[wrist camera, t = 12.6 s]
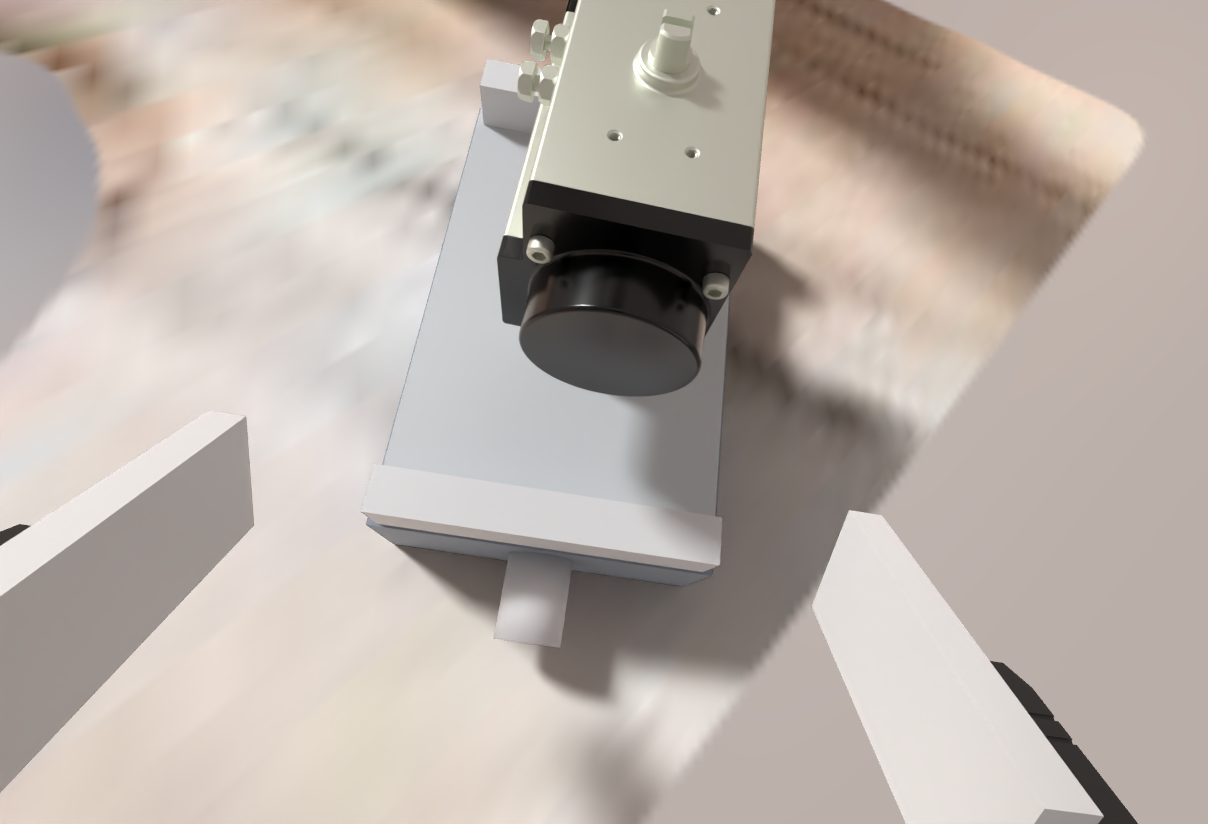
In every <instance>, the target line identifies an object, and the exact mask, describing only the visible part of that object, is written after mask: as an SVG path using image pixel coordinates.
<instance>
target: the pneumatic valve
mask: <svg viewBox="0 0 1208 824" xmlns="http://www.w3.org/2000/svg"><path fill="white" fill-rule="evenodd" d="M775 2H776V0H569V2H568V6H567V9H566V13H565V16H564V20H563V24H557V25H555V26H554V29H553V34H552V35H551V34H549V31H550V29H549V23H548V21H546V20H542V19H538V20H536V21H534V23H533V27H532V32H531V40H530V56H531V57H532V58H533V59H535V60H538V61H543V62H544V60H545V56H546V53H547V50H548V51H550V61H551V62H552V63H551V65H546V66H543V68H542V71H541V75H538V67H537V63H536V62H534V61H529V60H525V61H523V62H522V63H521V66H520V70H519V75H518V85H517V94H518V97H519V98H520V99H521V100H523V101H527V102H531V103H532V102H533V98H534V95H535V91H536V92H538V101H539V102H540V106H539V109H538V113H537V116H536V120H535V124H534V127H533V131H532V134H531V138H530V141H529V145H528V149H527V152H526V156H525V159H524V163H523V166H522V170H521V174H520V177H519V181H518V184H517V188H516V191H515V195H514V198H513V202H512V206H511V209H510V213H509V216H508V220H507V223H506V227H505V231H504V234H503V238H502V241H501V245H500V248H499V252H498V256H497V266H498V277H499V287H500V298H501V309H502V320H503V322H504V323H506V324H511V325H516V326H521V327H520V331H519V343H520V346H521V349H522V351H523V352H524V354H525V355H526V357H527V358H528V359H529V360H530V361H531V362H532V363H533V364H534V365H535V366H537V367H538V368H539V369H541V370H542V371H544V372H545V373H547V374H548V375H550V376H552V377H554V378H556V379H558V380H560V381H562V382H565V383H567V384H570V385H572V386H575V387H578V388H581V389H585V390H589V391H593V392H597V393H602V394H608V395H615V396H628V397H644V396H655V395H662V394H666V393H670V392H673V391H676V390H679V389H681V388H683V387H685V386H687V385H688V384H689V383H691V382H692V381H693V380H694V379H695V378H696V377H697V375H698V374H699V372H700V369H701V364H702V355H703V346H704V338H705V336H706V334H707V332H708V331H709V329H710V327H711V325H712V324H713V322H714V320H715V318H716V316H717V315H718V313H719V311H720V309H721V308H722V306H723V304H724V302H725V301H726V299H727V297H728V295H729V294H730V292H731V290H732V288H733V287H734V285H735V283H736V281H737V280H738V278H739V276H740V274H741V272H742V271H743V269H744V267H745V265H746V264H747V262H748V260H749V258H750V257H751V255H752V247H753V236H754V225H755V215H756V204H757V193H758V183H759V172H760V161H761V151H762V140H763V129H764V119H765V108H766V97H767V87H768V76H769V65H770V55H771V44H772V34H773V23H774V12H775Z"/></svg>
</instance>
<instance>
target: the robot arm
mask: <svg viewBox="0 0 1208 824" xmlns="http://www.w3.org/2000/svg"><path fill="white" fill-rule="evenodd" d="M253 526H254V518H253V504H252V490H251V476H250V462H249V448H248V434H247V420H246V416H242V415H235V414H229V413H223V412H216V411H210V410H209V411H207V412H206V413H204V414H203V415H201V416H199V417H198V418H196V419H195V420H193V421H192V422H190V423H189V424H187V425H186V426H184V427H183V428H181V429H179V430H178V431H176V432H175V433H173V434H172V435H170V436H169V437H167V438H166V439H164V440H163V441H161V442H159V443H158V444H156V445H155V446H153V447H152V448H150V449H149V450H147V451H146V452H144V453H143V454H141V455H139V456H138V457H136V458H135V459H133V460H132V461H130V462H129V463H127V464H126V465H124V466H123V467H121V468H119V469H118V470H116V471H115V472H113V473H112V474H110V475H109V476H107V477H106V478H104V479H103V480H101V481H99V482H98V483H96V484H95V485H93V486H92V487H90V488H89V489H87V490H86V491H84V492H83V493H81V494H79V495H78V496H76V497H75V498H73V499H72V500H70V501H69V502H67V503H66V504H64V505H63V506H61V507H59V508H58V509H56V510H55V511H53V512H52V513H50V514H49V515H47V516H46V517H44V518H43V519H41V520H39V521H38V522H36V523H35V524H33V525H32V526H28V525H21V524H19V525H16V526H14V527H11V528H9V529H6V530H4V531H1V532H0V792H1V791H2V790H3V789H4V788H5V787H6V786H7V785H8V784H9V783H10V782H11V781H12V780H13V779H14V778H15V776H16V775H17V774H18V773H19V772H20V771H21V770H22V769H23V768H24V767H25V766H26V765H27V764H28V763H29V762H30V761H31V760H32V759H33V758H34V756H35V755H36V754H37V753H38V752H39V751H40V750H41V749H42V748H43V747H44V746H45V745H46V744H47V743H48V742H49V741H50V740H51V739H52V738H53V736H54V735H55V734H56V733H57V732H58V731H59V730H60V729H61V728H62V727H63V726H64V725H65V724H66V723H67V722H68V721H69V720H70V719H71V717H72V716H73V715H74V714H75V713H76V712H77V711H78V710H79V709H80V708H81V707H82V706H83V705H84V704H85V703H86V702H87V701H88V700H89V699H90V697H91V696H92V695H93V694H94V693H95V692H96V691H97V690H98V689H99V688H100V687H101V686H102V685H103V684H104V683H105V682H106V681H107V680H108V679H109V677H110V676H111V675H112V674H113V673H114V672H115V671H116V670H117V669H118V668H119V667H120V666H121V665H122V664H123V663H124V662H125V661H126V660H127V659H128V657H129V656H130V655H131V654H132V653H133V652H134V651H135V650H136V649H137V648H138V647H139V646H140V645H141V644H142V643H143V642H144V641H145V640H146V639H147V637H148V636H149V635H150V634H151V633H152V632H153V631H154V630H155V629H156V628H157V627H158V626H159V625H160V624H161V623H162V622H163V621H164V620H165V619H166V617H167V616H168V615H169V614H170V613H171V612H172V611H173V610H174V609H175V608H176V607H177V606H178V605H179V604H180V603H181V602H182V601H183V600H184V599H185V597H186V596H187V595H188V594H189V593H190V592H191V591H192V590H193V589H194V588H195V587H196V586H197V585H198V584H199V583H200V582H201V581H202V580H203V578H204V577H205V576H206V575H207V574H208V573H209V572H210V571H211V570H212V569H213V568H214V567H215V566H216V565H217V564H218V563H219V562H220V561H221V560H222V558H223V557H224V556H225V555H226V554H227V553H228V552H229V551H230V550H231V549H232V548H233V547H234V546H235V545H236V544H237V543H238V542H239V541H240V540H241V538H242V537H243V536H244V535H245V534H246V533H247V532H248V531H249V530H250V529H251V528H252V527H253ZM811 607H812V609H813V611H814V613H815V616H816V618H817V621H818V623H819V625H820V628H821V630H822V632H823V634H824V637H825V639H826V641H827V644H828V646H829V648H830V651H831V653H832V655H833V657H834V660H835V662H836V664H837V666H838V669H839V671H840V673H841V676H842V678H843V680H844V683H845V685H846V687H847V690H848V692H849V694H850V696H851V699H852V701H853V703H854V706H855V708H856V710H857V712H858V715H859V717H860V719H861V722H862V724H863V726H864V729H865V731H866V733H867V735H868V738H869V740H870V742H871V745H872V747H873V749H874V752H875V754H876V756H877V759H878V761H879V763H880V765H881V768H882V770H883V772H884V775H885V777H886V779H887V781H888V784H889V786H890V788H891V790H892V793H893V795H894V797H895V800H896V802H897V804H898V807H899V809H900V811H901V814H902V816H903V818H904V820H905V823H906V824H1138V823H1137V822H1136V820H1135V819H1134V818H1133V817H1132V815H1131V814H1130V813H1129V812H1128V810H1127V809H1126V808H1125V806H1124V805H1123V804H1122V803H1121V801H1120V800H1119V799H1118V798H1117V796H1116V795H1115V794H1114V792H1113V791H1112V790H1111V788H1110V787H1109V786H1108V785H1107V783H1106V782H1105V781H1104V780H1103V778H1102V777H1101V776H1100V774H1099V773H1098V772H1097V770H1096V769H1095V768H1094V767H1093V765H1092V764H1091V763H1090V761H1089V760H1088V759H1087V758H1086V756H1085V755H1084V754H1083V753H1082V751H1081V750H1080V749H1079V747H1078V746H1077V745H1073V744H1072V739H1071V737H1070V736H1069V735H1068V733H1067V732H1066V731H1065V729H1064V728H1063V727H1062V726H1061V724H1060V723H1059V722H1058V721H1054V715H1053V714H1052V713H1051V711H1050V710H1049V709H1048V708H1047V706H1046V705H1045V704H1044V703H1043V701H1042V700H1041V699H1040V697H1039V696H1038V695H1037V693H1036V692H1035V691H1034V690H1033V688H1032V687H1030V686H1029V685H1028V684H1027V683H1026V682H1025V681H1023V680H1022V679H1021V678H1020V677H1019V676H1018V675H1016V674H1015V673H1014V672H1013V671H1012V670H1010V669H1009V668H1008V667H1007V666H1006V665H1005V664H1004V663H999V662H993V661H989V660H988V658H987V657H986V655H985V654H984V653H983V651H982V650H981V649H980V647H979V646H978V645H977V643H976V642H975V641H974V639H973V638H972V636H971V635H970V634H969V632H968V631H967V630H966V628H965V627H964V626H963V624H962V623H961V622H960V620H959V619H958V617H957V616H956V615H955V613H954V612H953V611H952V609H951V608H950V607H949V605H948V604H947V603H946V601H945V600H944V598H943V597H942V596H941V595H940V593H939V592H938V590H937V589H936V588H935V586H934V585H933V584H932V582H931V581H930V579H929V578H928V577H927V575H926V574H925V573H924V571H923V570H922V569H921V567H920V566H919V565H918V563H917V562H916V560H915V559H914V558H913V556H912V555H911V554H910V552H909V551H908V550H907V548H906V547H905V546H904V544H903V543H902V541H901V540H900V539H899V537H898V536H897V535H896V533H895V532H894V531H893V529H892V528H891V527H890V525H889V524H888V522H887V521H886V520H885V518H884V517H883V516H882V515H877V514H871V513H865V512H858V511H852V510H849V511H848V514H847V517H846V519H845V522H844V524H843V527H842V529H841V532H840V534H839V537H838V540H837V542H836V545H835V547H834V550H833V552H832V555H831V558H830V560H829V563H828V565H827V568H826V570H825V573H824V575H823V578H822V581H821V583H820V586H819V588H818V591H817V593H816V596H815V599H814V601H813V604H812V606H811Z"/></svg>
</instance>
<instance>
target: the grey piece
mask: <svg viewBox="0 0 1208 824" xmlns="http://www.w3.org/2000/svg"><path fill="white" fill-rule="evenodd" d="M520 66H521V65H517V64H512V63H506V62H501V61H496V60H491V59H487V62H486V65H485V69H484V72H483V76H482V80H481V83H480V92H481V102H482V106H481V108H480V111H479V114H478V118H477V122H476V125H475V129H474V132H473V136H472V140H471V143H470V147H469V151H468V154H467V158H466V162H465V165H464V169H463V173H462V176H461V180H460V183H459V187H458V191H457V194H456V198H455V202H454V205H453V209H452V213H451V216H450V220H449V224H448V227H447V231H446V234H445V238H444V242H443V245H442V249H441V253H440V256H439V260H438V264H437V267H436V271H435V274H434V278H433V282H432V285H431V289H430V293H429V296H428V300H427V304H426V307H425V311H424V315H423V318H422V322H421V325H420V329H419V333H418V336H417V340H416V344H415V347H414V351H413V355H412V358H411V362H410V366H409V369H408V373H407V376H406V380H405V384H404V387H403V391H402V395H401V398H400V402H399V406H398V409H397V413H396V416H395V420H394V424H393V427H392V431H391V435H390V438H389V442H388V446H387V449H386V453H385V457H384V460H383V464H382V465H380V464H374V465H373V469H372V472H371V476H370V479H369V483H368V487H367V490H366V494H365V497H364V501H363V504H362V508H361V512H362V513H363V514H365V515H366V516H367V517H368V518H367V522H366V525H367V526H369V527H370V528H371V529H373V530H374V531H376V532H377V533H379V534H380V535H381V536H383V537H384V538H386V539H387V540H389V541H390V542H391V543H393V544H397V545H404V546H411V547H418V548H425V549H431V550H438V551H445V552H452V553H459V554H465V555H472V556H479V557H486V558H493V559H499V560H506V561H508V563H507V568H506V573H505V579H504V584H503V590H502V595H501V600H500V606H499V611H498V617H497V622H496V628H495V633H494V638H493V639H500V640H507V641H514V642H521V643H528V644H535V645H542V646H550V647H557V648H560V647H561V640H562V633H563V626H564V620H565V613H566V606H567V599H568V592H569V585H570V579H571V572H572V570H574V571H581V572H588V573H594V574H601V575H608V576H615V577H622V578H628V579H635V580H642V581H649V582H656V583H662V584H669V585H676V586H686V585H689V584H692V583H694V582H697V581H700V580H703V579H706V578H708V577H711V576H712V573H713V568H714V567H717V566H719V565H720V554H721V537H722V520H723V517H717V516H716V510H717V494H718V478H719V462H720V446H721V431H722V415H723V399H724V383H725V367H726V351H727V335H728V319H729V304H730V294H729V295H728V297H727V299H726V301H725V302H724V304H723V306H722V308H721V309H720V311H719V313H718V315H717V316H716V318H715V320H714V322H713V324H712V325H711V327H710V329H709V331H708V332H707V334H706V336H705V338H704V346H703V355H702V364H701V369H700V372H699V374H698V375H697V377H696V378H695V379H694V380H693V381H692V382H691V383H689V384H688V385H687V386H685V387H683V388H681V389H679V390H676V391H673V392H670V393H666V394H662V395H655V396H644V397H628V396H615V395H608V394H602V393H597V392H593V391H589V390H585V389H581V388H578V387H575V386H572V385H570V384H567V383H565V382H562V381H560V380H558V379H556V378H554V377H552V376H550V375H548V374H547V373H545V372H544V371H542V370H541V369H539V368H538V367H537V366H535V365H534V364H533V363H532V362H531V361H530V360H529V359H528V358H527V357H526V355H525V354H524V352H523V351H522V349H521V346H520V343H519V331H520V327H521V326H516V325H511V324H506V323H504V322H503V320H502V309H501V298H500V287H499V277H498V266H497V256H498V252H499V248H500V245H501V241H502V238H503V234H504V231H505V227H506V223H507V220H508V216H509V213H510V209H511V206H512V202H513V198H514V195H515V191H516V188H517V184H518V181H519V177H520V174H521V170H522V166H523V163H524V159H525V156H526V152H527V149H528V145H529V141H530V138H531V134H532V131H533V127H534V124H535V120H536V116H537V113H538V109H539V106H540V102H539V101H538V92H536V91H535V95H534V98H533V102H532V103H531V102H527V101H523V100H521V99H520V98H519V97H518V94H517V85H518V75H519V70H520ZM541 71H542V69H538V75H541Z"/></svg>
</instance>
